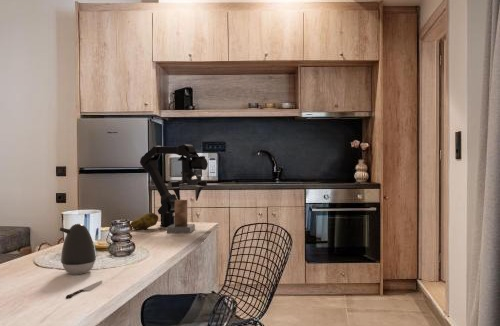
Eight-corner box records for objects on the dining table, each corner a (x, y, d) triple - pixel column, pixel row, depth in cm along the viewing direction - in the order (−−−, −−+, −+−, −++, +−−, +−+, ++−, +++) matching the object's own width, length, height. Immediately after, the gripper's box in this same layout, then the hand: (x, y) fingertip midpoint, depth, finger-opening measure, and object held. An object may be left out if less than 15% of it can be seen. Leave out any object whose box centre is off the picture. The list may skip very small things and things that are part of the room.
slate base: (166, 232, 225) (166, 227, 225) (172, 229, 236) (172, 223, 236) (190, 232, 224) (190, 227, 224) (194, 229, 235) (194, 223, 235)
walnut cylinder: (174, 226, 227) (174, 200, 227) (175, 224, 233) (175, 199, 233) (187, 226, 228) (187, 200, 227) (187, 224, 233) (187, 199, 233)
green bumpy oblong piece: (136, 227, 242) (135, 211, 242) (160, 228, 240) (160, 212, 239) (128, 230, 234) (128, 213, 234) (154, 230, 231) (153, 214, 231)
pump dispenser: (60, 270, 153) (59, 222, 153) (94, 267, 157) (93, 220, 157) (61, 278, 144) (60, 227, 144) (97, 274, 148) (96, 224, 148)
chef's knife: (112, 281, 141) (103, 280, 142) (112, 277, 141) (103, 276, 142) (75, 301, 123) (64, 299, 123) (75, 296, 123) (64, 295, 123)
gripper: (175, 170, 230) (175, 203, 230) (211, 169, 239) (211, 201, 239) (167, 170, 240) (168, 201, 240) (202, 169, 249) (202, 199, 249)
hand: (188, 201), depth 242 cm, fingers open, 9 cm apart
